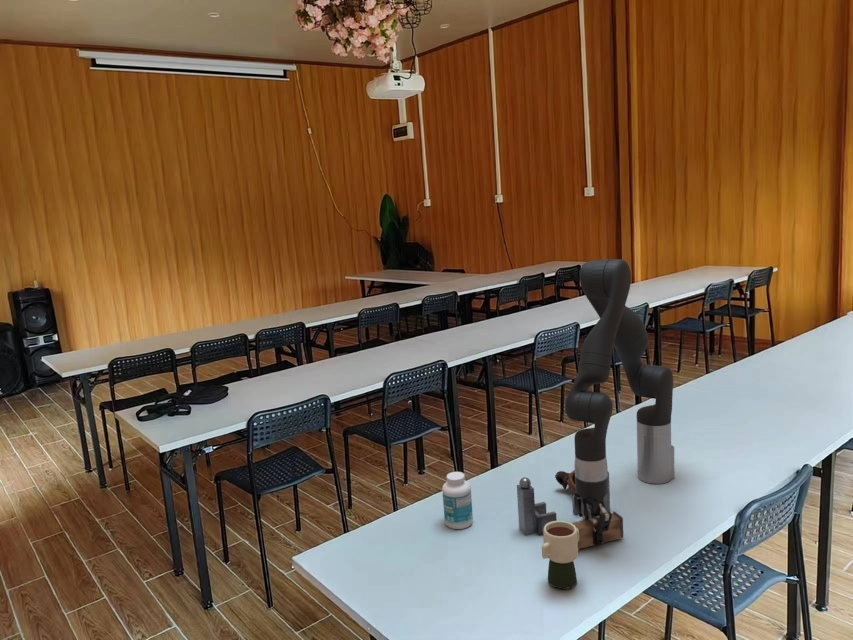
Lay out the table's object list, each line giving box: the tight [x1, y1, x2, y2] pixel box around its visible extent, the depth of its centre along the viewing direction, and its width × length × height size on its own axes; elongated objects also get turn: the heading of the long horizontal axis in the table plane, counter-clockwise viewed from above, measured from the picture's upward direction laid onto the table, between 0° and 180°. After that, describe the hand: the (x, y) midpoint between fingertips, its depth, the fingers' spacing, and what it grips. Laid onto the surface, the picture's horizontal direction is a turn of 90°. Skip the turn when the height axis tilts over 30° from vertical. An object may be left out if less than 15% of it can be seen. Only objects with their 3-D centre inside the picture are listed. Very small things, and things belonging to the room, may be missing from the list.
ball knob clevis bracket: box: [516, 471, 611, 537], centre depth 167 cm, size 24×7×14 cm, turn 106°
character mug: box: [541, 520, 579, 589], centre depth 142 cm, size 11×7×13 cm, turn 125°
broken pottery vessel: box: [554, 469, 576, 493], centre depth 183 cm, size 12×10×8 cm
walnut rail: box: [571, 511, 624, 550], centre depth 157 cm, size 14×3×5 cm, turn 106°
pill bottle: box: [441, 471, 474, 530], centre depth 171 cm, size 8×7×14 cm
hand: (593, 539), depth 158 cm, fingers closed on walnut rail, 3 cm apart
